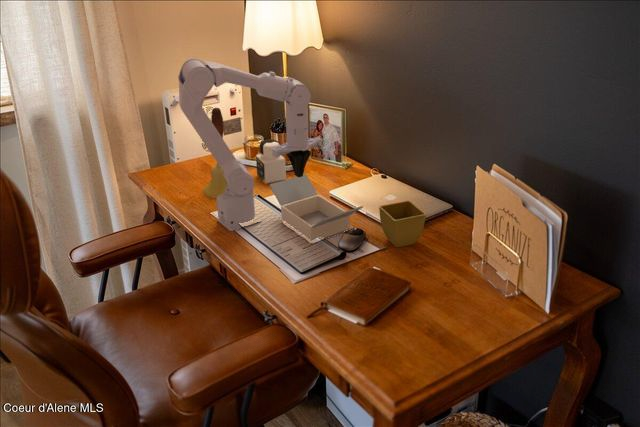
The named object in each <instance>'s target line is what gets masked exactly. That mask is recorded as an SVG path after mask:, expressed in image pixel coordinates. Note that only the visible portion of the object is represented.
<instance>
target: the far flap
mask: <svg viewBox="0 0 640 427" xmlns="http://www.w3.org/2000/svg"><path fill="white" fill-rule="evenodd" d="M269 187H270V190H271V191H272V193H273V194H274V196H275V198H276V200H277V202H278V204H279V205H280V207H281V206H283V205H286V204H290V203H293V202H296V201H299V200H303V199H306V198H309V197H312V196H316V195H318V193H317V191H316V189H315V187H314V185H313V184H312V182H311V180H310V179H309V177H308V175H307V174H303V176H302V177H297V176H294V177H291V178H286V180H282V181H277V182H272V183H269Z"/></svg>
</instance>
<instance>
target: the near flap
mask: <svg viewBox="0 0 640 427" xmlns="http://www.w3.org/2000/svg"><path fill="white" fill-rule="evenodd" d="M363 208H364V205H362V206H359V207H355V208H352V209H349V210H345V211H346V212H343V213H340V214H337V215H334V216H331V217H328V218H325V219H323V220H321V221H320V222H318V223H317V224H315V225H313V226H312V228H314V227H317V226H320V225H323V224H326V223H329V222H332V221H335V220H338V219H341V218H343V217H346V216H349V215H350V216H352V215H353V214H355V213H357V212H358V211H360V210H362V209H363Z"/></svg>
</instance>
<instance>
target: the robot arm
mask: <svg viewBox="0 0 640 427" xmlns="http://www.w3.org/2000/svg"><path fill="white" fill-rule="evenodd" d="M177 77H178V90H179V91H178V94H179V95H178V99H179V100H178V102H179V103H178V104H179V105H178V106H179V107H180V110H181V112H182V113H183V114H184V116H185V117H186V119H187V120H188V121H189V122H190V125H191V126H192V128H193V129H194V131H195V132H196V133H197V135H198V136H199V138H200V139H201V140H202V142H203V144H204V145H205V146H206V148H207V149H208V151H209V152H210V153H211V155H212V157H213V159H214V160H215V161H216V164H217V163H218V164H219V165H220V167H221V168H222V170H223V176H224V178H225V180H226V181H227V182H228V184H227V186H226V189H225V190H226V191H225V192H224V193H223V194H221V195H219V196H218V197H217V198H216V209H217V217H218V218H217V220H216V221H217V222H218V223H219V224H221V225H222V226H223V227H225V228H226V229H227V230H228V231H230V232H232V231H236V230H239V228H240V226H239V225H238V224H239V223H244V222H248V221H250V220H252V219H254V217H255V215H256V211H255V199H254V198H255V197H254V188H255V179H254V177H253V175H252V174H250V172H249V171H248V170H247V168H246V165H245V164H244V163H243V162H241V161H240V160H238V159H237V158H236V156H235V155H234V153H233V152H232V150H231V149H230V147H229V146H228V145H227V143H226V142H225V139H224V137H223V138H222V137H221V135H220V134H219V132H218V131H217V129H216V128H215V126H214V125H213V123H212V122H211V119H210V117H209V116H208V114H207V113H206V111H205V110H204V108H203V105H204V101H205V99H206V97H207V95H208V94H209V93H210V92H211V90H212V88H213V87H216V88H219V87H220V86H222V85H224V84H225V83H227V84H231V85H235V86H236V85H237V86H241V87H246V88H250V89H254V90H255V91H256V93H257V94H258V95H259V96H260V97H264V98H268V99H272V100H276V101H279V102H285V130H286V142H284V143H283V144H281V145H280V146H278V147H276V148H272V155H273V156H274V157H276V158H277V157H280V155H281V156H284V155H286V157H287V158H288V160H289V163H290V164H291V166H292V170H293V174H294V177H302V176H303V175H304V172H305V169H306V165H307V162H308V161H309V158H310V157H311V155H312V154H311V153H312V151H311V150H310V148H316V147H323V138H321V137H319V136H316V137H311V138H309V109H308V105H309V103H310V102H311V98H312V94H311V93H310V89H309V88H308V87H307V85H305V84H304V83H302V82H301V81H299V80H297V79H295V78H293V77H290V76H289V77H287V78H286V77H282V76H278V75H277V74H276V72H274V71H269V72H262V73H260V74H259V75H256V74H252V73H250V72H246V71H244V70H241V69H237V68H235V67H231V66H228V65H225V64H222V63H218V62H214V61H211V60H204V61H202V59H199V58H189V59H187V60H186V61H184V62H183V64H182V65H181V68H180V70H179V74H178V76H177ZM240 229H241V228H240Z"/></svg>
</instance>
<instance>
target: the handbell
mask: <svg viewBox="0 0 640 427" xmlns="http://www.w3.org/2000/svg"><path fill="white" fill-rule="evenodd" d="M210 118H211V119H210V120H211V122H212V123H213V125H214V126H215V128H216V129H217V131H218V132H219V134H220V135H221V137H222V138H223V139H224V132H225V125H224V118H223V114H222V110H221V109H220V108H219V107H213V108H212V110H211V117H210ZM210 178H211V179H210V181H209V182H208V183H207V184H206V185H205V186H204V187H203V191H202V193H203V194H204V196H207V197H208V198H212V199H217V197H218V196H219V195H221V194H223V193H224V192H225V191H226V190H225V189H226V186H227V184H228V182H227V181H226V180H225V178H224V176H223V170H222V168H221V167H220V165H219V164H218V163H217V162H216V164H214V165H213V166H212V167H211V169H210Z"/></svg>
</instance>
